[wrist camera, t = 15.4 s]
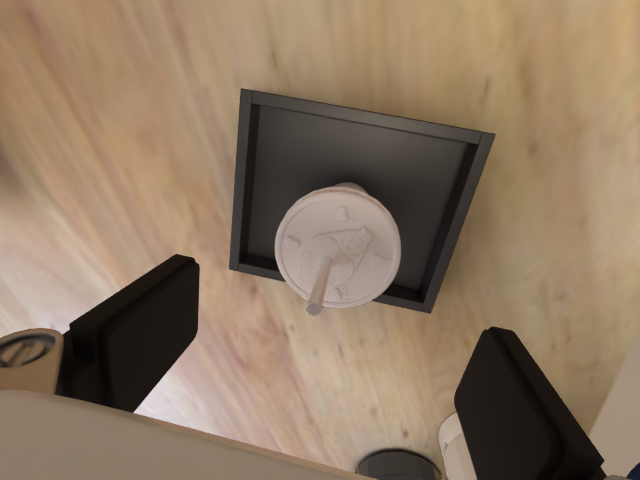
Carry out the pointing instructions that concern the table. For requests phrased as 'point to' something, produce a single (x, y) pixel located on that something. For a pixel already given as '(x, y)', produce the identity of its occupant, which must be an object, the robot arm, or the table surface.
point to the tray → (356, 167)
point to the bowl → (398, 467)
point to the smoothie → (338, 247)
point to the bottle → (455, 450)
